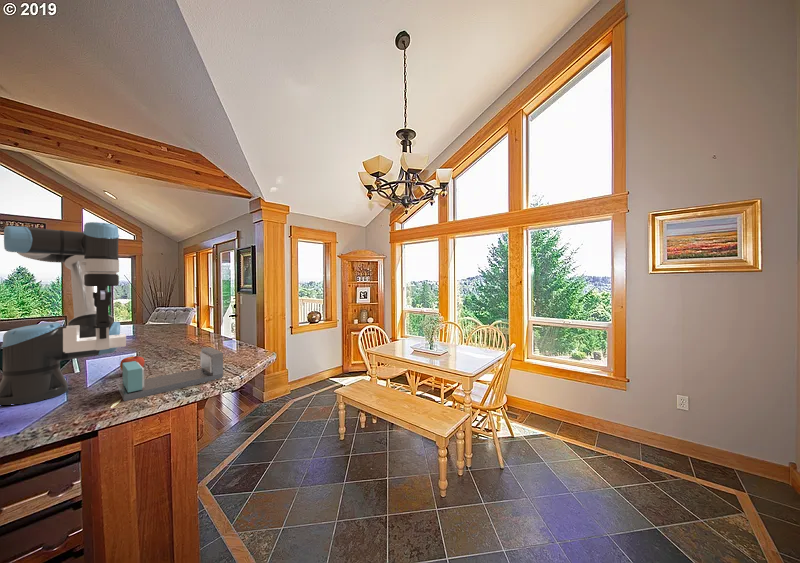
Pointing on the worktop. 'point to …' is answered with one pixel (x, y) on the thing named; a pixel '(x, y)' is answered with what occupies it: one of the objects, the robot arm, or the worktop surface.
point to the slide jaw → (133, 376)
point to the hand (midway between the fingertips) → (102, 347)
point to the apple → (133, 358)
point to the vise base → (168, 383)
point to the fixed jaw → (211, 361)
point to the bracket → (86, 340)
